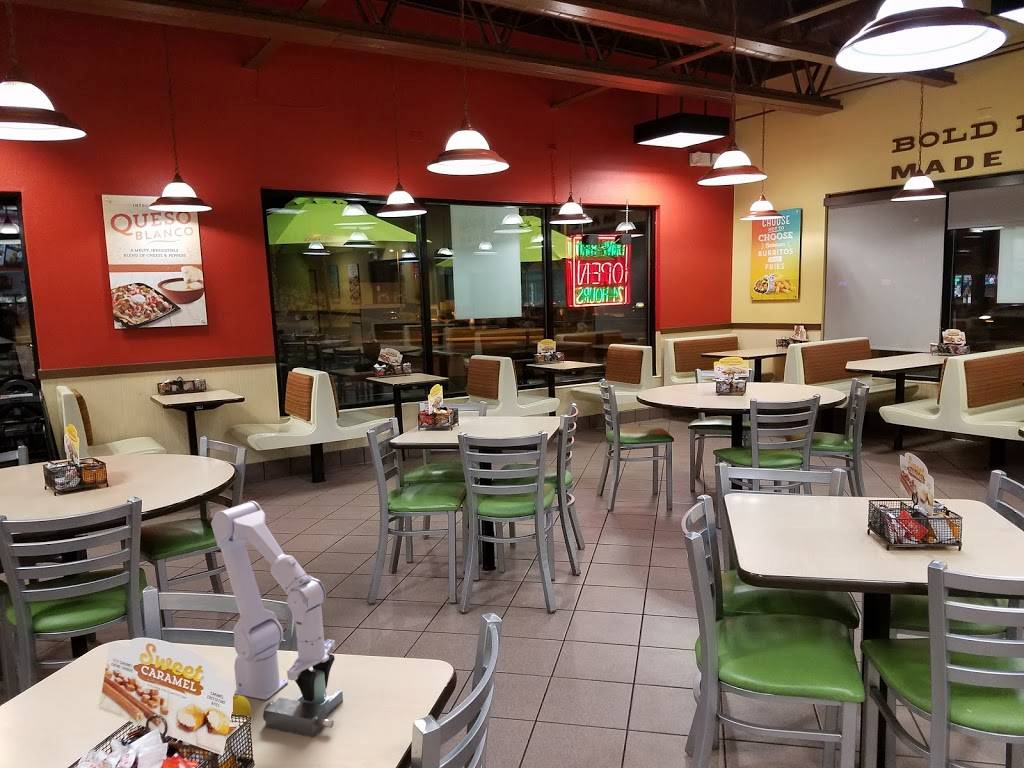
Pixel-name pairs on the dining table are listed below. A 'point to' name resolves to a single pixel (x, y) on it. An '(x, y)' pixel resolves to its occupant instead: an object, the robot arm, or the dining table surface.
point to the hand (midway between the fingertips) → (315, 694)
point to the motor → (300, 714)
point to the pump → (319, 688)
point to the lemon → (241, 706)
